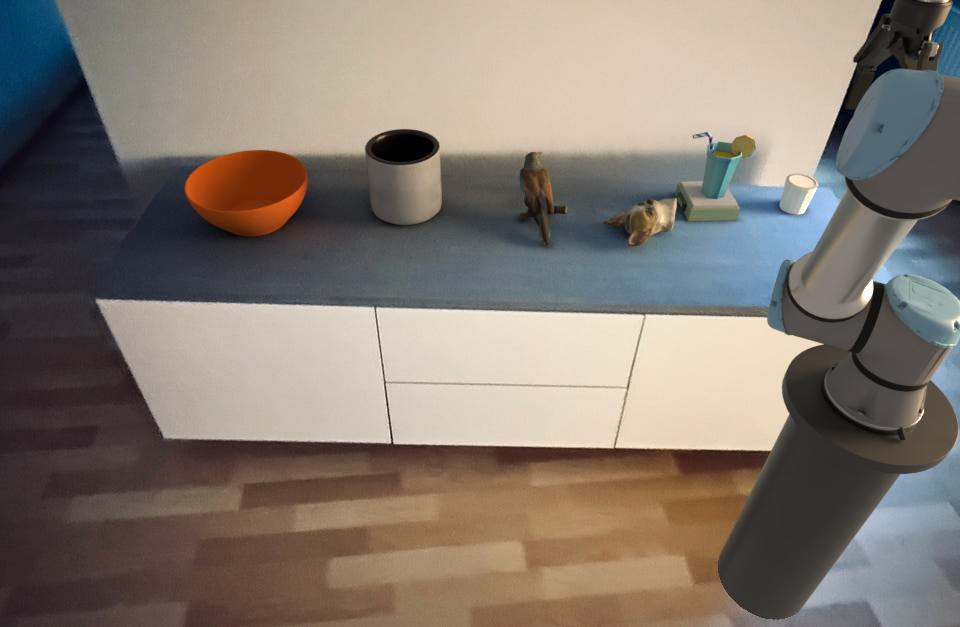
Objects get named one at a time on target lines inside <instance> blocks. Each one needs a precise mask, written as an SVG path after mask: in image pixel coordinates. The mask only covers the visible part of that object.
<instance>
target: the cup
mask: <svg viewBox="0 0 960 627" xmlns="http://www.w3.org/2000/svg"><path fill="white" fill-rule="evenodd" d="M705 137H708V144H707V148H706V161H705V167H704V173H703V178H702V181H703V184H702V191H701V193H702V194H703V195H705V196H706V197H708V198H713V199H719V198H722V197H724V195H725V193H726V191H727V188H728V189H729V185H730V184H731V181H732V179H733V175H734V173H735V170H736V168H737V166H738V164H739V161H741V160H742V159H745V158H748V157H750V156H752V154H753V153H754V152H755V151H756V149H757V148H756V142H755V138H753V137H751V136H750V135H747V134H744V135H740V136H736V137H735V138H734V139H733V141H732V142H725V141H715V142H714V138H713V134H712V133H711V132H710V131H704V132H701V133H696V134H692V139H693V140H695V139H699V138H705Z"/></svg>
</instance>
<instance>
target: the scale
mask: <svg viewBox="0 0 960 627" xmlns="http://www.w3.org/2000/svg"><path fill="white" fill-rule="evenodd" d="M702 184H703V180H697V181H696V180H694V181H681V182H680V183H677V184H676V188H675V194H674V196H675V198H676V199H677V204H678V205H679V208H680V210H681V212H682V213H684V216H685V217H686V220H687V222H711V221H713V222H714V221H718V222H719V221H737V220H738V217H739V214H740V211H741V207H740V206H739V203H738V201H737V200H736V198H735V197H734V196H733V194H732V192H731V191H730V188H729V187H728V188H727V191H726V193H725V195H724V197H722V198H719V199H713V198H708V197H706V196H705V195H703V194H702V193H701V191H702Z"/></svg>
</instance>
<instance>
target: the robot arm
mask: <svg viewBox="0 0 960 627" xmlns="http://www.w3.org/2000/svg"><path fill="white" fill-rule="evenodd" d="M953 4H954V3H953V0H895V1H894V3H893V5H892V8H891V11H890V13H883V14H882V15H881V17H880V19H879V21H878V24H877V25H876V27H875V29H874V30H873V31H872V33H870V35H869V36H868V38H867V39H866V40H865V42H864V43H863V44H862V46H861V47H860V48H859V49H858V51H856V53H855V55H854V56H853V58H852V62H853V63H856V74H855V76H854V79H853V81H852V84H851V88H850V91H849V93H848V96H847V99H846V101H845V104H844V106H843V109H844V110H854V113H853V116H852V117H851V119H850V121H849V122H848V124H847V126H846V128H845V130H844V133H843V135H842V138H841V141H840V145H839V147H838V150H837V153H836V159H835V168H836V171H837V172H838V173H839V174H840V175H842V176H844V182H845V186H846V191H845V192H844V194H843V196H842V198H841V199H840V201H839V203H838V205H837V207H836V209H835V210H834V213H833V215H832V216H831V217H830V220H829V221H828V223H827V225H826V227H825V228H824V231H823V233H822V234H821V236H820V238H819V239H818V241H817V242H816V245H815V247H814V249H813V250H812V251H810V252H808V253H806V254H803V255H802V256H801V257H799V258H798V259H789V258H788V259H787V258H786V259H784V260H783V261H782V262H781V264H780V266H779V269H778V272H777V276H776V279H775V282H774V286H773V290H772V293H771V298H770V303H769V306H768V310H767V316H766V323H767V325H768V326H769V327H770V328H771V329H773V330H776V331H778V332H781V333H784V335H787V336H794V337H797V338H799V339H800V338H801V339H804V340H808V341H811V342H815V343H818V344H820V345H823V344H825V345H829V346H832V347H836V348H839V349H843V350H846V351H849V353H848V354H847V355H846V356H844V357H843V358H842V359H841V360H840V361H838V362H837V363H835V364H834V365H833V366H832V367H830V369H829V370H828V371H827V373H826V375H825V377H824V379H823V382H822V392H823V395H824V398H825V400H826V401H827V403H828V404H829V406H830V407H831V408H832V409H833V410H834V411H835V412H836V413H837V414H838V415H839V416H840V417H841V418H843V419H844V420H846V421H847V422H849V423H851V424H852V425H854V426H856V427H858V428H861V429H863V430H866V431H869V432H872V433H877V434H883V435H897V434H899V438H900V440H907V438H906V435H905V432H907V431H909V430H911V429H912V428H913V427H914V426H915V425H916V424H917V422H918V421H919V420H920V418H921V417H922V414H923V411H924V402H925V396H926V388H927V384H928V383H929V381H930V380H931V381H932V379H933V377H935V374H936V373H937V371H938V370H939V369H940V367H941V366H942V364H943V363H944V361H945V360H946V359H947V357H948V355H949V354H950V353H951V351H952V350H953V348H954V347H955V346H957V345H958V344H959V341H960V299H959V298H958V297H956V295H954V294H953V293H952V291H950V290H949V289H948V288H946V287H945V286H943V285H941V284H940V283H938V282H936V281H934V280H932V279H929V278H927V277H925V276H921V275H916V274H909V273H906V274H903V275H902V274H898V275H896V276H894V277H892V278H891V279H889V280H888V281H887V283H884V282H879V281H876V280H873V279H874V278H875V277H876V276H877V274H878V273H879V271H880V270H881V269H882V268H883V266H884V265H885V264H886V262H887V261H888V260H889V259H890V257H891V256H892V255H893V254H894V252H895V251H896V249H897V248H898V247H899V246H900V244H901V243H902V241H904V239H905V238H906V237H907V235H908V234H909V232H910V231H911V230H912V229H913V228H914V226H915V225H916V223H917V222H918V221H920V220H923V219H924V220H925V219H928V218H930V217H933V216H936V215H937V214H938V213H940V212H941V211H943V210H945V209H946V208H947V207H948V206H950V204H951V202H952V201H953V200H954V201H959V202H960V77H958V76H952V75H945V74H942V73H941V72H939V71H938V65H939V60H940V57H941V54H942V52H943V50H944V42H940V41H939V42H935V41H931V40H932V35H933V32H934V31H935V30H936V29H938V28H940V27H942V26H943V24H944V23H945V21H946V19H947V17H948V15H949V14H950V10H951V8H952V6H953ZM891 56H894V57H895V58H896V59H897V60H898V65H899V67H900V68H894V69H890V70H888V71H886V72H884V73H883V74H881V75H880V76H879V77H877V78H876V79H875V80H874V77H875V75H876V73H875V71H877V69H878V68H877V67H878V66H879V65H881V64H882V63H883V62H885V61H886V60H887V59H888V58H890V57H891ZM873 80H874V82H873ZM872 82H873V83H872Z"/></svg>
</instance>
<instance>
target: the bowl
mask: <svg viewBox="0 0 960 627" xmlns="http://www.w3.org/2000/svg"><path fill="white" fill-rule="evenodd" d="M308 186H309V173H308V169H307V167H306V165H305V164H304V163H303V162H302V161H301V160H300V159H298V158H297V157H295V156H293V155H291V154H289V153H285V152H283V151H282V152H281V151H278V150H269V149H252V150H250V149H249V150H242V151H236V152H231V153H227V154H223V155H220V156H217V157H214V158H213V159H211V160H209V161H207V162H204V163H202V164H201V165H199V166H198V167H196V168H195V169H194V170H193V171H192V172H191V173H190V174H189V176H188V177H187V179H186V180H185V184H184V195H185V197H186V199H187V201H188V203H189V204H190V206H191V207H192V209H193V210H195V212H196V213H197V214H198V216H201V217H202V218H203V220H206V221H207V222H208V223H210V224H211V225H213V226H214V227H215V226H216V227H217V228H219V229H221V230H224V231H226V232H230V233H231V234H233V235H235V236H236V235H237V236H240V237H258V236H259V237H260V236H264V235H268V234H271V233H273V232H276V231H278V230H279V229H281V228H282V227H283V226H284V225H285V224H286V223H287V222H288V220H290V219H291V217H292V216H293V215H294V214H295V213H296V212H297V210H298V209H299V208H300V206H301V204H302V203H303V201H304V199H305V196H306V193H307V190H308Z"/></svg>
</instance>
